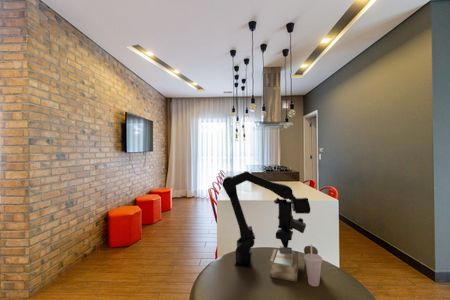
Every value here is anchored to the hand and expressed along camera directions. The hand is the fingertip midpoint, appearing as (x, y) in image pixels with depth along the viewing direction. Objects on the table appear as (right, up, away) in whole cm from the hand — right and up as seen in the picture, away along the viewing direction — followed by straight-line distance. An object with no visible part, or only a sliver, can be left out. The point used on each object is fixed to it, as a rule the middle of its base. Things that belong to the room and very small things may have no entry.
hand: (286, 248), depth 95 cm
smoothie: (+6, -6, -15) cm, 18 cm away
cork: (+7, -6, -10) cm, 14 cm away
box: (-2, -6, -7) cm, 10 cm away
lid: (-2, -1, -6) cm, 7 cm away
